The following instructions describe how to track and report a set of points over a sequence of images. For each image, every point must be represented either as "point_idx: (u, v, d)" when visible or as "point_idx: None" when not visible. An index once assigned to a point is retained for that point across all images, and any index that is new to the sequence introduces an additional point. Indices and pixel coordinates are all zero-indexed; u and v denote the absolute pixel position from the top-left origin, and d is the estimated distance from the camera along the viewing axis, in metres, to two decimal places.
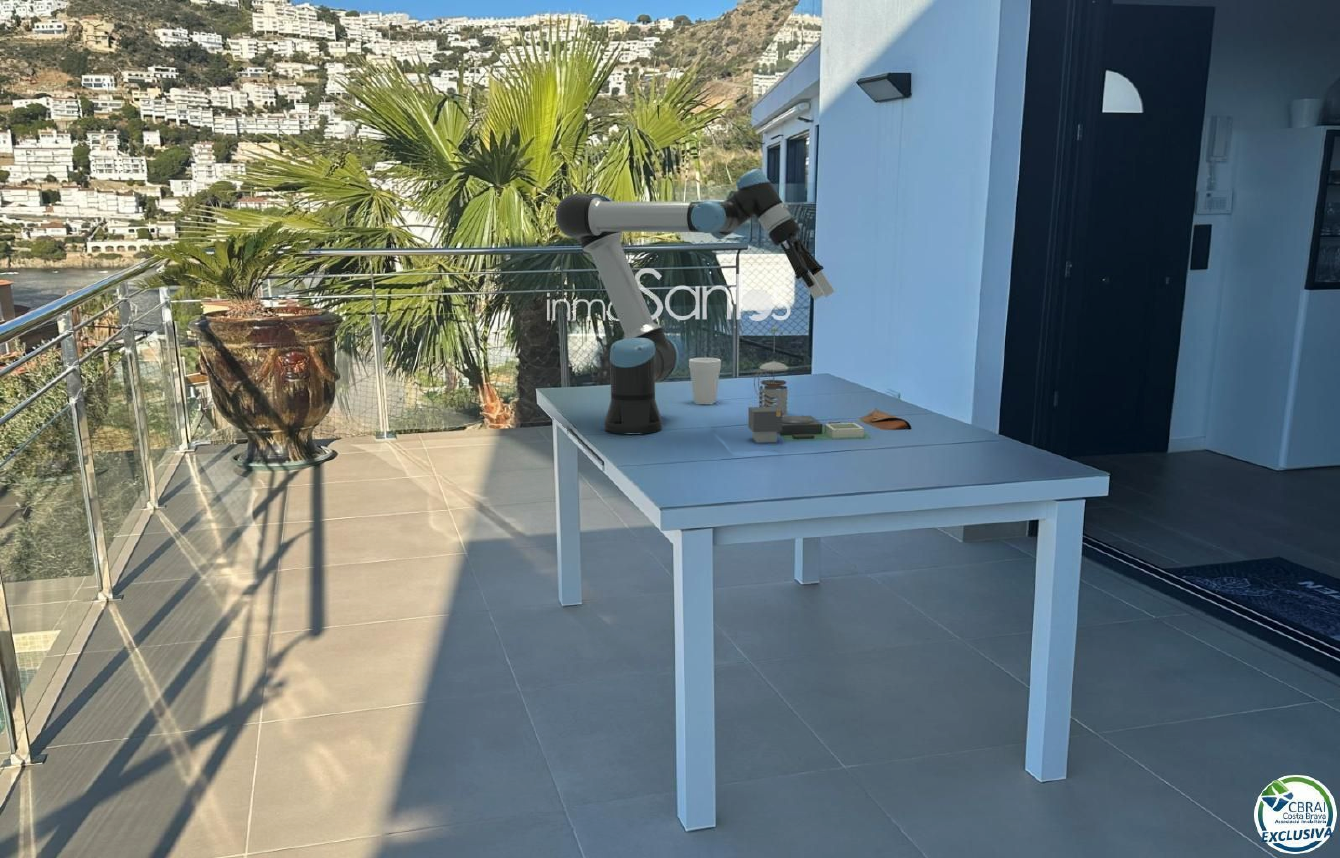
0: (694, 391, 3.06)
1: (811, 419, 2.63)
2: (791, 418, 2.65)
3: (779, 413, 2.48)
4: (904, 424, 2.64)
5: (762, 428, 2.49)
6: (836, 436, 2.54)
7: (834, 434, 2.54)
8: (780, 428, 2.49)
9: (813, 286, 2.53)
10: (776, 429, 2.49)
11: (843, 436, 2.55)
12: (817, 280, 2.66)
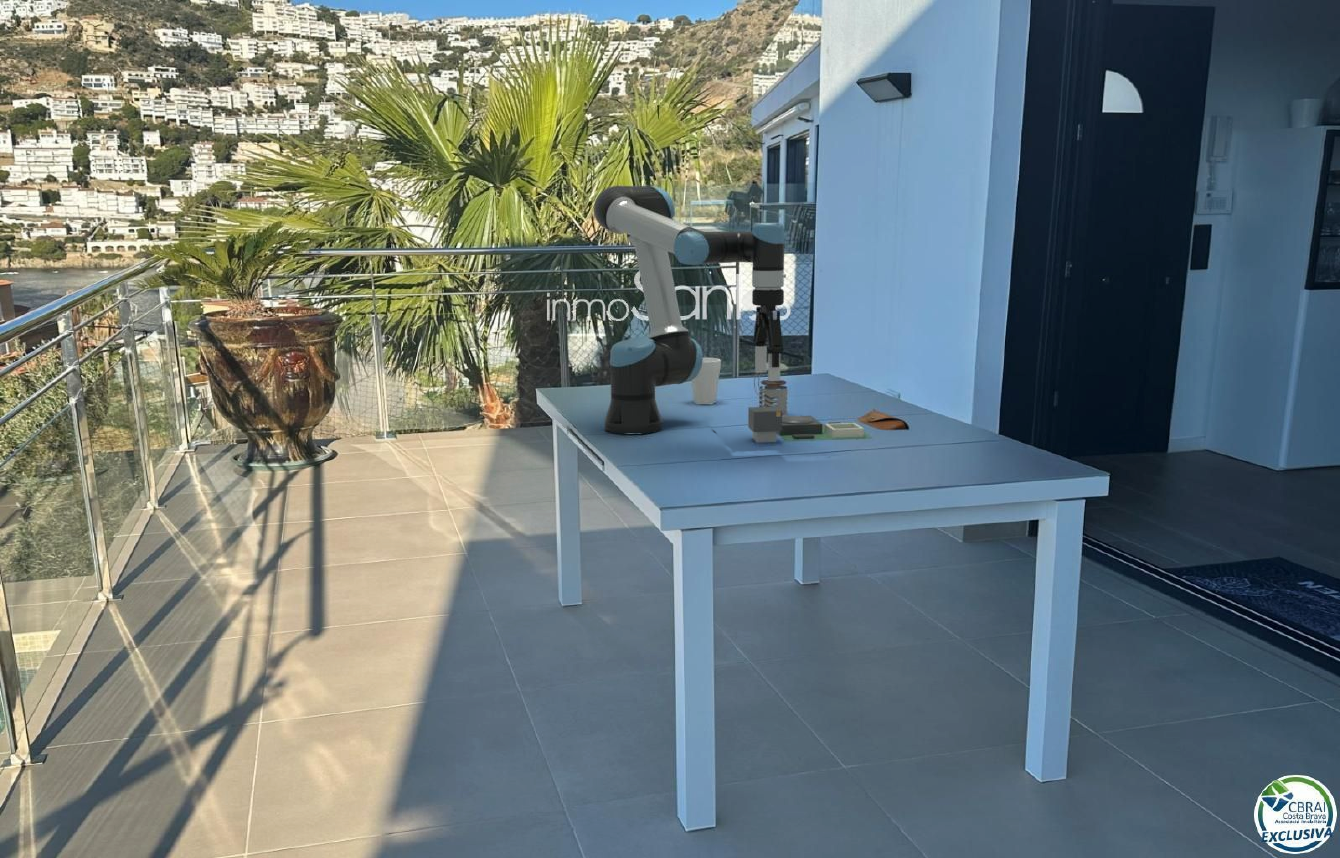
0: (694, 391, 3.06)
1: (811, 419, 2.63)
2: (791, 418, 2.65)
3: (779, 413, 2.48)
4: (902, 424, 2.64)
5: (762, 428, 2.49)
6: (836, 436, 2.54)
7: (834, 434, 2.54)
8: (780, 428, 2.49)
9: (775, 368, 2.42)
10: (776, 429, 2.49)
11: (843, 436, 2.55)
12: (758, 353, 2.55)
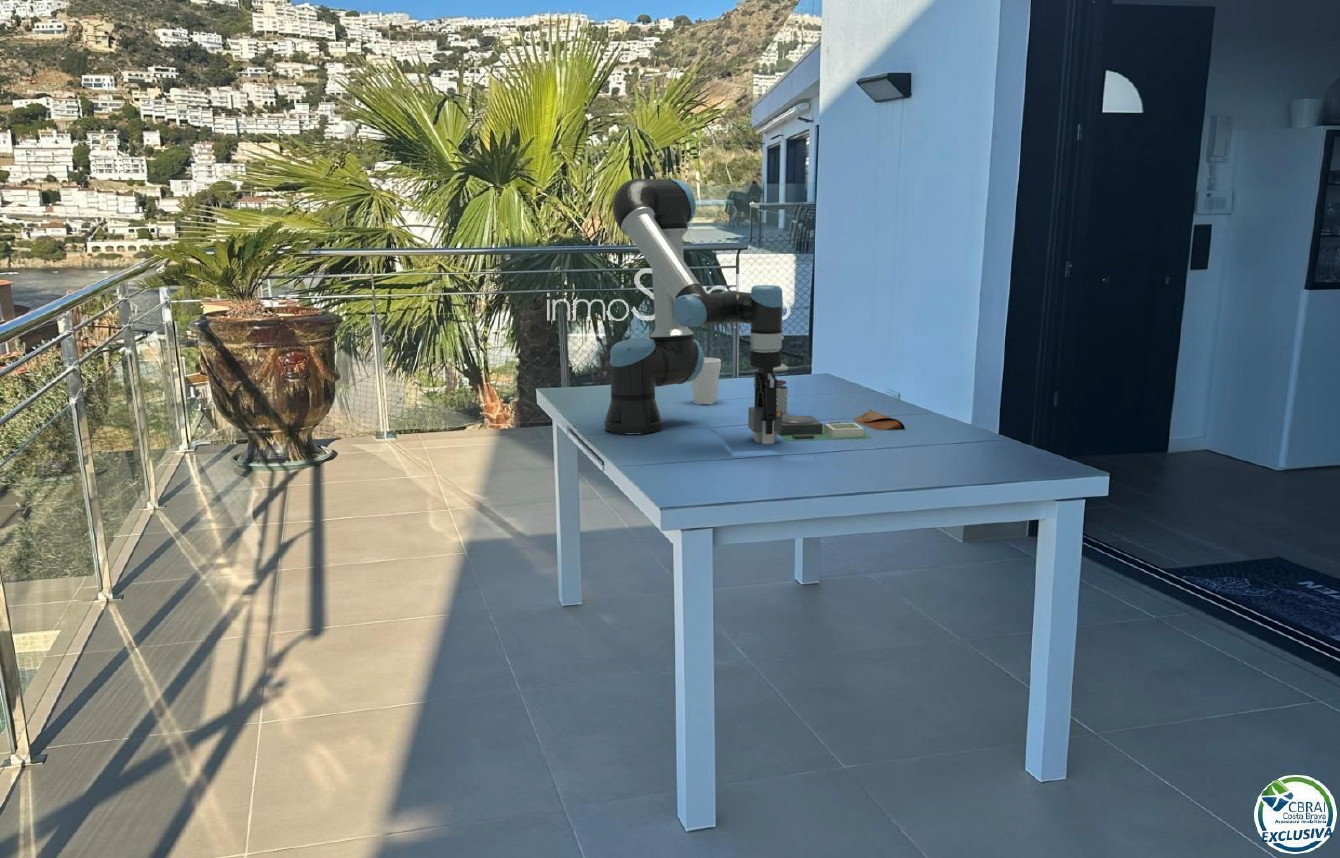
0: (694, 391, 3.06)
1: (811, 419, 2.63)
2: (791, 418, 2.65)
3: (779, 413, 2.48)
4: (898, 424, 2.64)
5: None
6: (836, 436, 2.54)
7: (834, 434, 2.54)
8: (780, 428, 2.49)
9: (769, 434, 2.48)
10: (776, 429, 2.49)
11: (843, 436, 2.55)
12: None
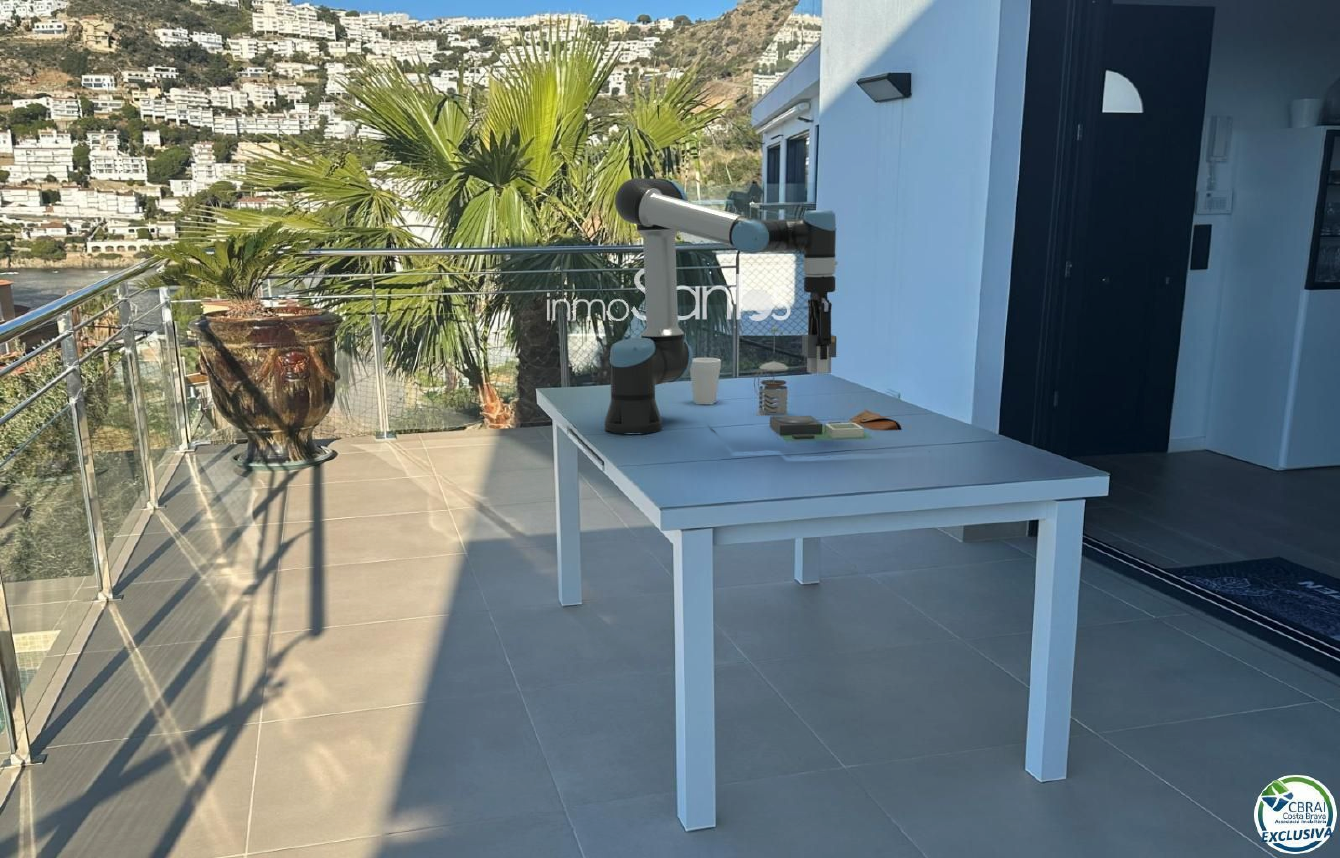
0: (694, 391, 3.06)
1: (811, 419, 2.63)
2: (791, 418, 2.65)
3: (833, 339, 2.48)
4: (894, 425, 2.64)
5: (816, 353, 2.48)
6: (836, 436, 2.54)
7: (834, 434, 2.54)
8: (834, 354, 2.48)
9: (823, 360, 2.48)
10: (830, 355, 2.48)
11: (843, 436, 2.55)
12: None
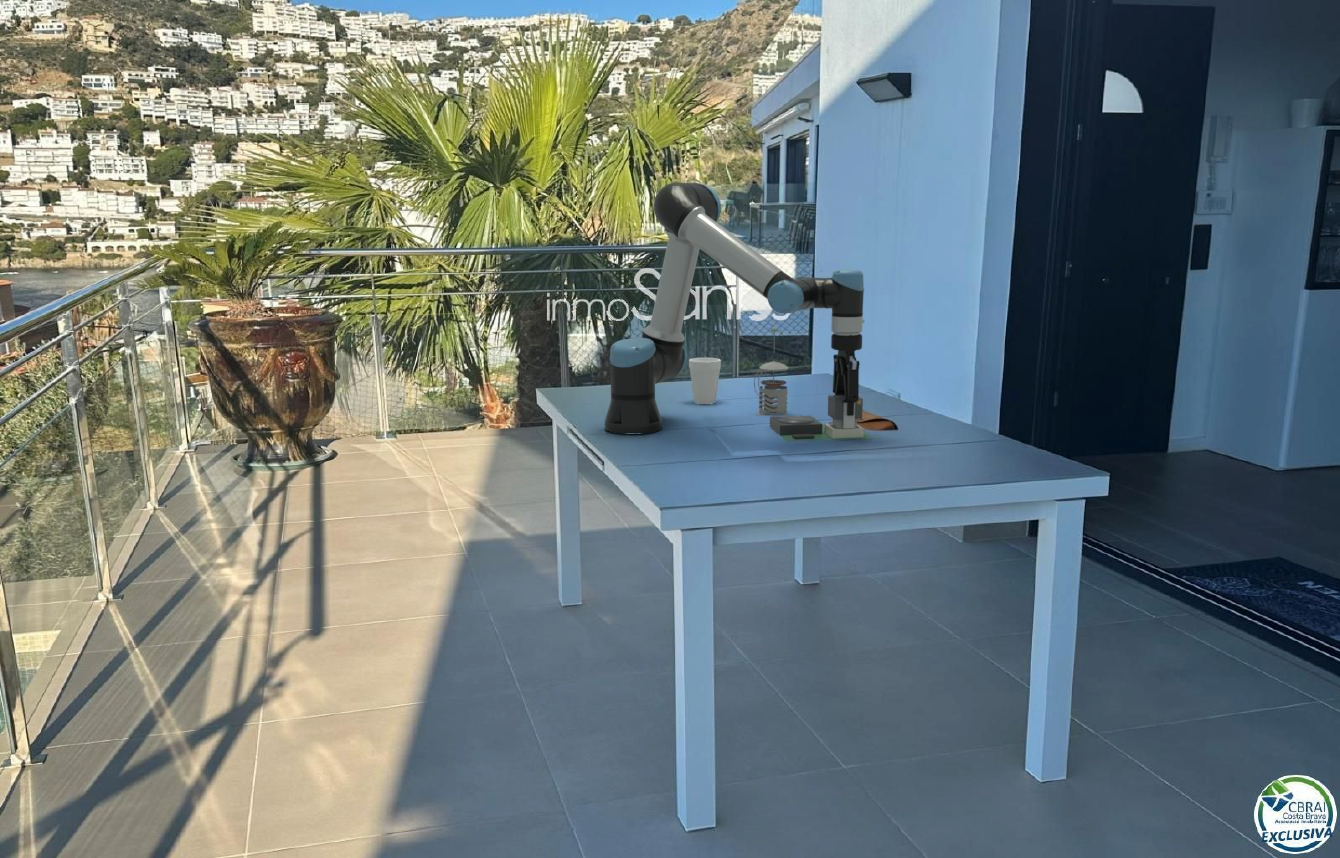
0: (694, 391, 3.06)
1: (811, 419, 2.63)
2: (791, 418, 2.65)
3: (860, 401, 2.54)
4: (891, 425, 2.64)
5: None
6: (836, 436, 2.54)
7: (834, 434, 2.54)
8: (860, 415, 2.55)
9: (850, 416, 2.53)
10: (857, 416, 2.54)
11: (843, 436, 2.55)
12: None
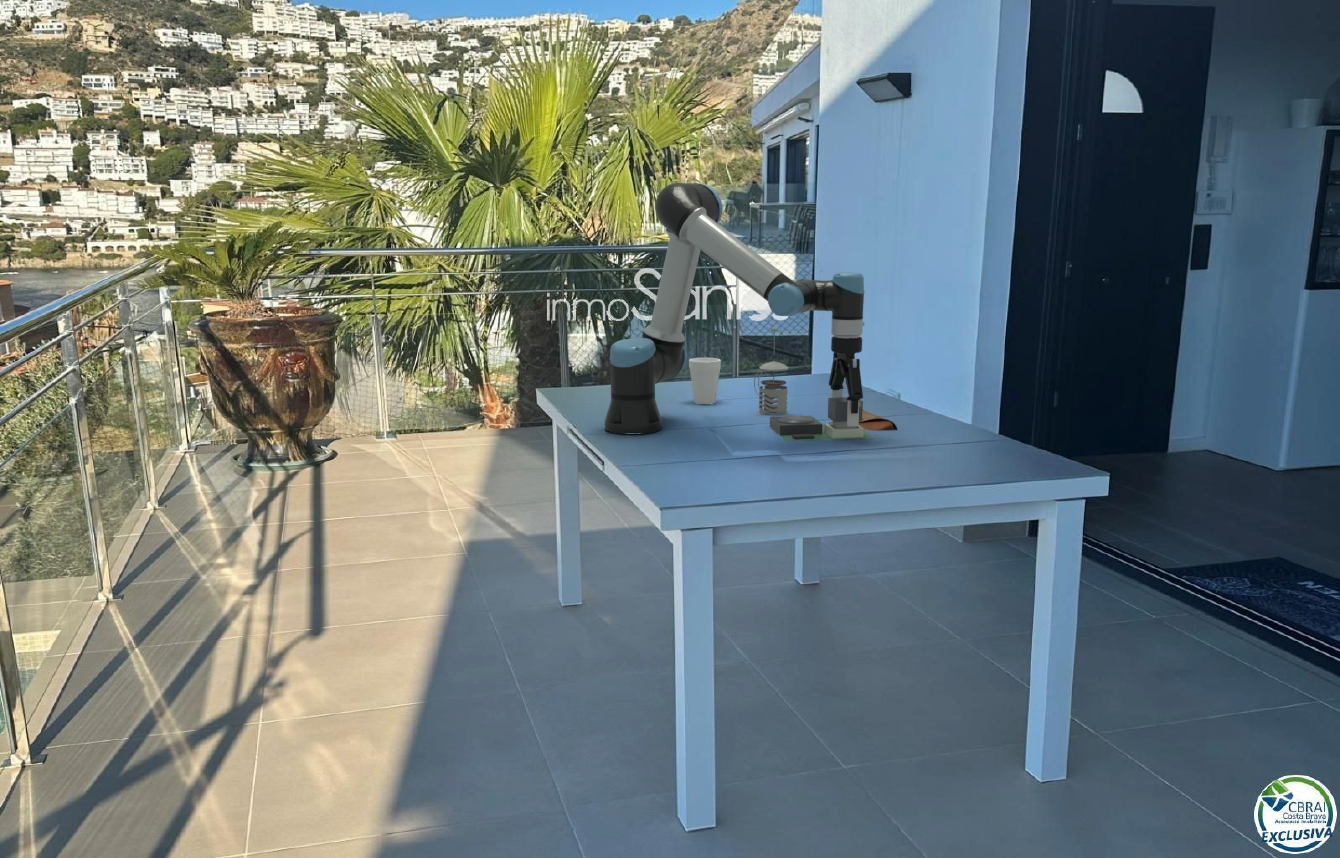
0: (694, 391, 3.06)
1: (811, 419, 2.63)
2: (791, 418, 2.65)
3: (860, 403, 2.54)
4: (890, 425, 2.64)
5: (843, 418, 2.54)
6: (836, 436, 2.54)
7: (834, 434, 2.54)
8: (860, 418, 2.55)
9: (854, 414, 2.50)
10: None
11: (843, 436, 2.55)
12: (834, 397, 2.63)
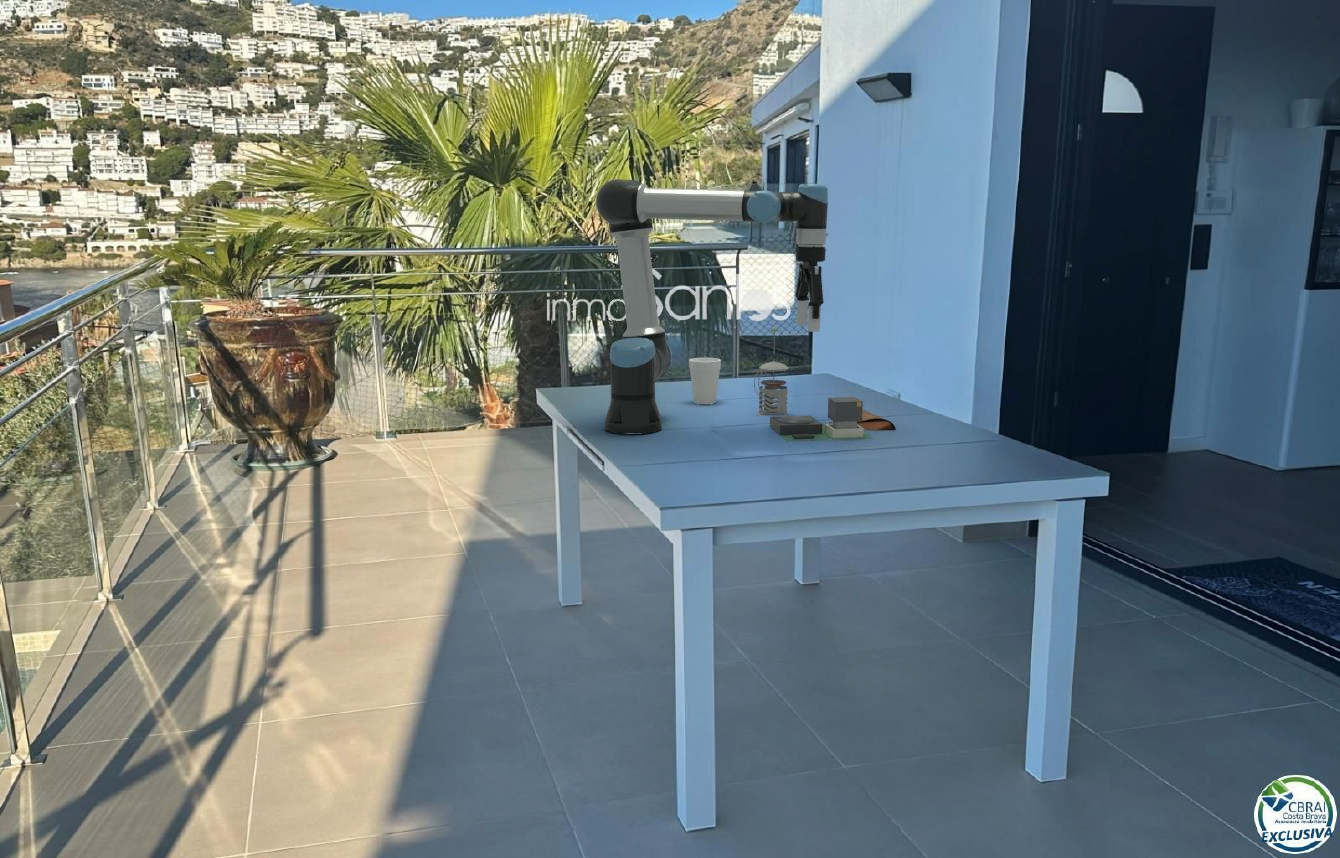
0: (694, 391, 3.06)
1: (811, 419, 2.63)
2: (791, 418, 2.65)
3: (860, 403, 2.54)
4: (888, 425, 2.63)
5: (843, 418, 2.54)
6: (836, 436, 2.54)
7: (834, 434, 2.54)
8: (860, 418, 2.55)
9: (815, 319, 2.61)
10: (857, 419, 2.55)
11: (843, 436, 2.55)
12: (799, 307, 2.73)
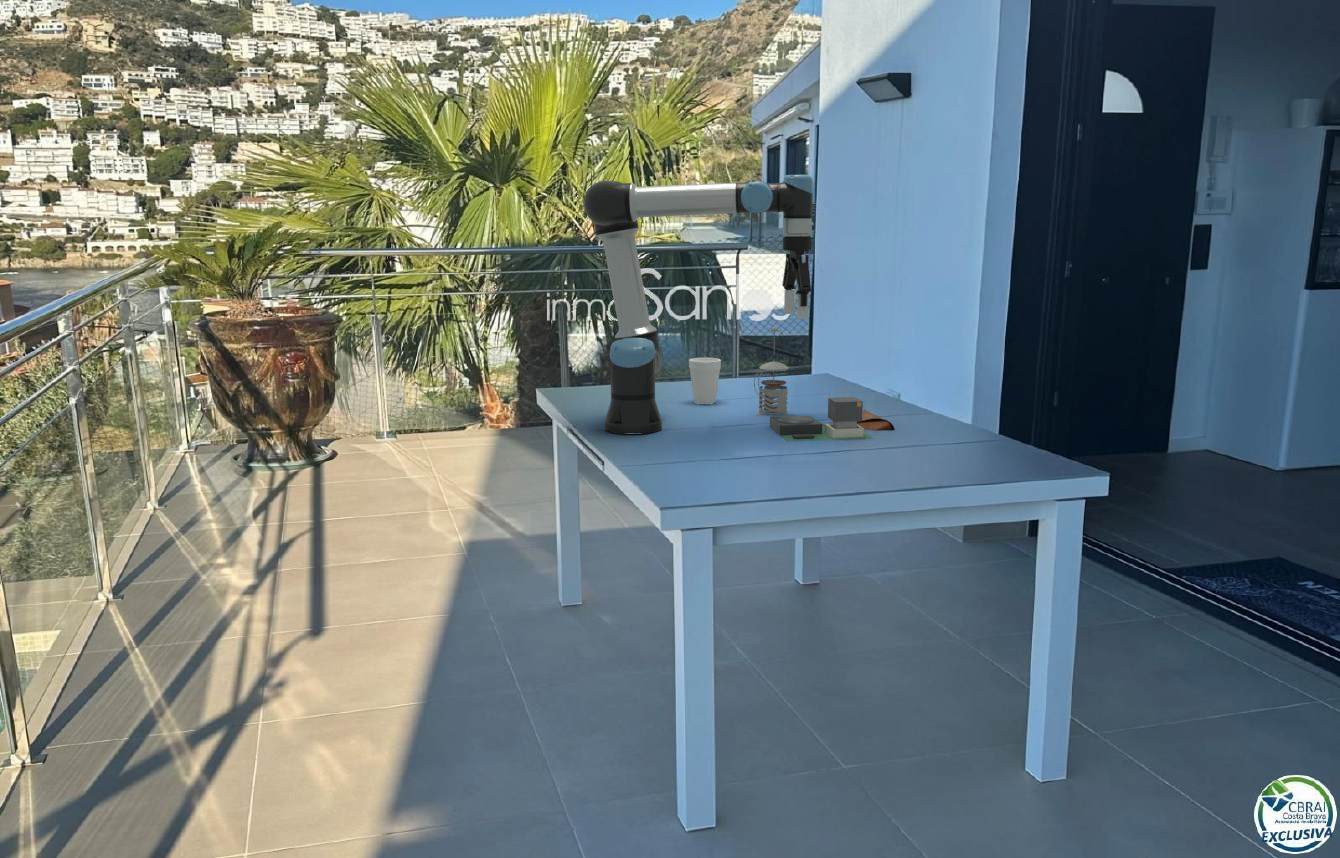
0: (694, 391, 3.06)
1: (811, 419, 2.63)
2: (791, 418, 2.65)
3: (860, 403, 2.54)
4: (887, 425, 2.63)
5: (843, 418, 2.54)
6: (836, 436, 2.54)
7: (834, 434, 2.54)
8: (860, 418, 2.55)
9: (803, 307, 2.66)
10: (857, 419, 2.55)
11: (843, 436, 2.55)
12: (787, 296, 2.79)
